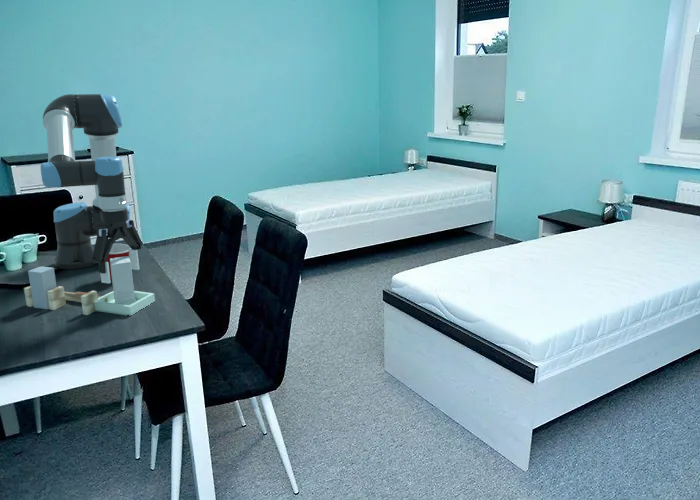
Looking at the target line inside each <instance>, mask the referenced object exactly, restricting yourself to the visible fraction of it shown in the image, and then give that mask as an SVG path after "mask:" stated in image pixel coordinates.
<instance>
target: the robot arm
mask: <svg viewBox="0 0 700 500" xmlns="http://www.w3.org/2000/svg"><path fill="white" fill-rule="evenodd" d="M43 111H44V112H43V115H42V124H43V127H44V128H45V130H46V139H47V140H46V141H47V142H46V143H47V144H46V145H47V155H48V156H47V162H42V163H41V164H40V175H41V176H40V177H41V181H42V184H43V186H44V187H46V188H58V189H59V188H69V187H84V186H85V187H86V186H94V190H95V191H94V192H95V198H94V199H93V200H92V202H91V203H92V205H88V204H86V202H83V201H82V202H72V203H66V204H63V205H59V206H58V207H56V208H55V209H54V210H53V223H54V228H55V234H56V241H57V250H56V255H55V258H54V266H55V265H56V266H57V267H59V268H58V269H61V270H78V269H84V268H89V267H92V266H94V265H96V264H97V265H98V271H99V274H100V279H101V281H100V282H101V283H102V284H103V283H104V284H111V283H112V281H111V280H110V272H109V263H108V262H106V260H107V258H108V255H109V253H110V250H111V248H112V245H113V244H116V241H118V240H120V239H122V240H123V241H124V242H125V243H126V245H128V246H129V247H130V248H131V249H129V259H130V262H131V270H135V271H138V270H140V262H139V261H140V260H139V257H140V254H139V250H142V246H143V241H142V239H141V237H140V235H139V233H138V231H137V229H136V227H135V224H134V220H133V219H131V214H130V213H131V212H130V211H131V210H130V204H129V203H127V196H126V188H125V187H126V186H125V185H126V184H125V173H124V169H125V168H124V166H123V160H122V158H121V157H120V156H117V148H116V139H115V138H116V136H117V135H118V134H119V129H120V128H123V123H122V118H121V114H120V109H119V105H118V101H117V99H116V97H115V96H114V95H111V94H102V93H99V94H98V93H97V94H96V93H92V94H91V93H90V94H88V93H87V94H86V93H85V94H81V93H80V94H73V93H72V94H71V93H69V94H68V93H67V94H63V95H61V96H59V97H56V98H55V99H53V100H52V101H50V103H48V104H47V106H46V107H45V109H44V110H43ZM74 129H82V130H83V134H84V135H86V136H87V137H88V139H89V148H90V155H91V160H76V155H75V154H76V153H75V145H74V144H75V143H74V135H73V130H74ZM95 236H96V239H95V244H94V247H93V244H92V240H91V237H95ZM102 258H103V259H102ZM56 266H55V267H56ZM57 267H56V268H57Z"/></svg>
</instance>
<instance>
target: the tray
mask: <svg viewBox="0 0 700 500" xmlns="http://www.w3.org/2000/svg"><path fill="white" fill-rule="evenodd" d="M134 294H135V301H136V302H135V303H133V304H131V305H123V304H116V303H115V298H114V291H113V290H112V291H111V292H108V293H106V294H104V295H101V297H100V298H98V301H95V302H94V304H95V311H94V312H101V313H107V314H114V315H121V316H127V315H129V316H128V317H132V316H134V315H135V313H136V312H137V313H138V311H139V310H141V309H143V308H144V309H146V308H147V307H146V306H148V305H149V306H151V305H152V304H151V303H153V302H155V303H156V296H155V292H154V293H152V292H145V291H139V290H134ZM106 297H107V298H108V302H105V298H106ZM150 304H151V305H150ZM153 304H154V303H153ZM149 306H148V307H149ZM145 307H146V308H145ZM144 309H143V310H144ZM141 311H142V310H141ZM139 312H140V311H139ZM137 313H136V314H137ZM133 314H134V315H133ZM131 315H132V316H131Z"/></svg>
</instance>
